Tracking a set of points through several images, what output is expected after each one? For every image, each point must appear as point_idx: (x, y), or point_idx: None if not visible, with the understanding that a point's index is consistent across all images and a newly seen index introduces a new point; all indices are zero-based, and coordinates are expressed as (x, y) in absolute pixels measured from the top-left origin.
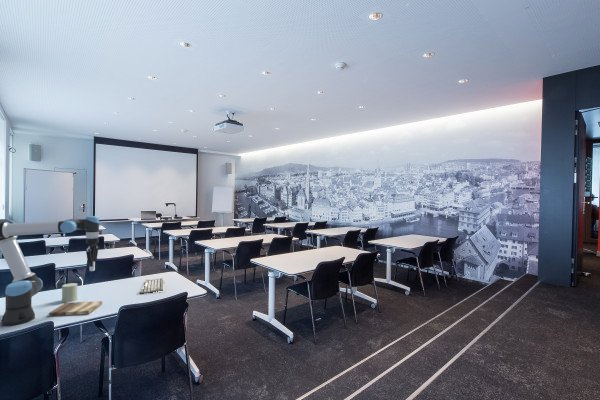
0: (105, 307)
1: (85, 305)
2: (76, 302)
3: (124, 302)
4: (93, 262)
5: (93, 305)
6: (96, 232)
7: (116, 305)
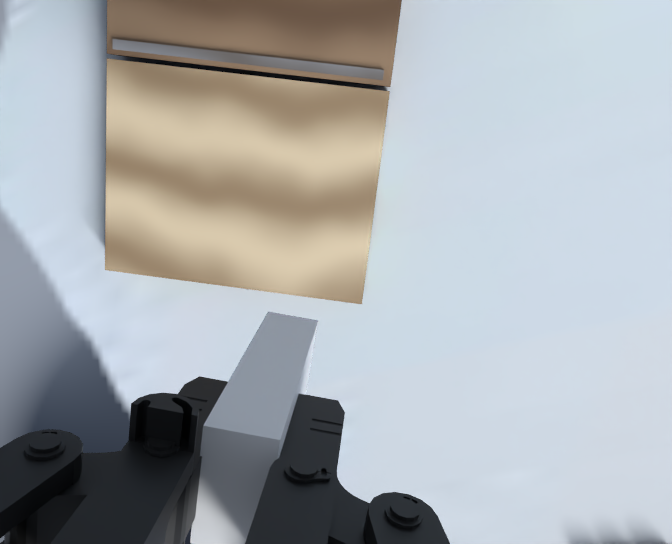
0: None
1: (263, 185)
2: (389, 51)
3: (366, 466)
4: (197, 521)
5: (244, 262)
6: None
7: None
